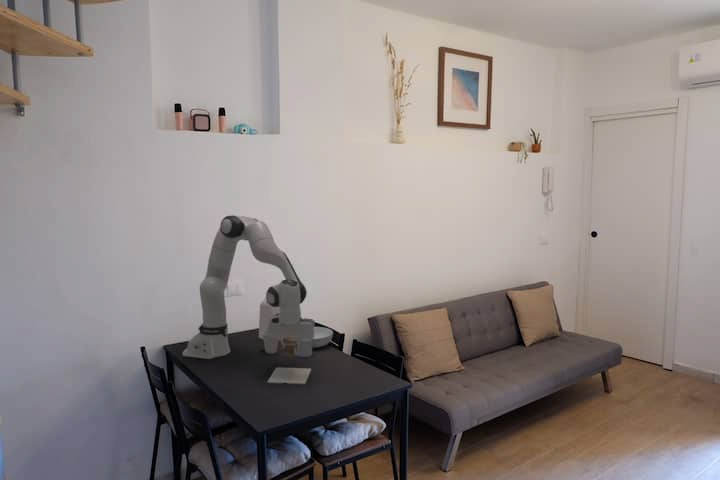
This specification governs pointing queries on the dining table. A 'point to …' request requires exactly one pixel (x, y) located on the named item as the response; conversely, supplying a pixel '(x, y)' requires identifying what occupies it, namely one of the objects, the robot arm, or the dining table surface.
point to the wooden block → (290, 348)
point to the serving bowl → (321, 336)
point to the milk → (266, 316)
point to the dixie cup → (270, 344)
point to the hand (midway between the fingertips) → (291, 348)
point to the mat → (289, 375)
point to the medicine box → (304, 348)
